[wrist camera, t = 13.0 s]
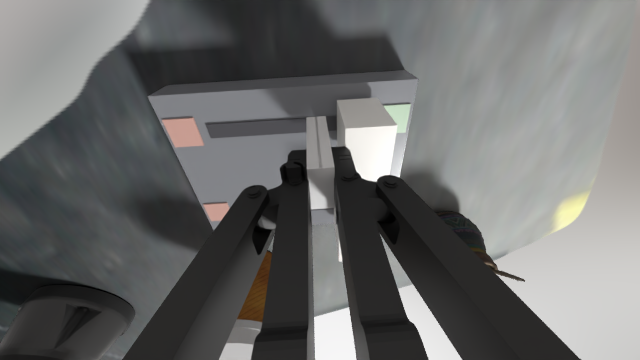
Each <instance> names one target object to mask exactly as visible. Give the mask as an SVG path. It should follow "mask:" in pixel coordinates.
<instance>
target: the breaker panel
mask: <svg viewBox="0 0 640 360" xmlns="http://www.w3.org/2000/svg"><path fill="white" fill-rule="evenodd" d="M418 80H419V79H418V78H416V77H415V76H413V75H412V74H410V73H409V72H407V71H406V70H397V71H381V72H366V73H350V74H334V75H318V76H303V77H287V78H271V79H256V80H240V81H224V82H208V83H193V84H177V85H167V86H165V87H163V88H161V89H160V90H158V91H156V92H154V93H153V94H151V95H149V96H148V98H149V100H150V102H151V104H152V106H153V109H154V111H155V113H156V115H157V117H158V119H159V121H160V123H161V125H162V127H163V129H164V131H165V133H166V135H167V137H168V139H169V141H170V143H171V145H172V147H173V149H174V151H175V153H176V155H177V157H178V159H179V161H180V163H181V165H182V167H183V169H184V171H185V173H186V175H187V177H188V179H189V181H190V184H191V186H192V188H193V190H194V192H195V194H196V196H197V198H198V200H199V202H200V204H201V206H202V208H203V210H204V212H205V214H206V216H207V218H208V220H209V222H210V224H211V226H212V228H213V230H215V229H216V227H217V226H218V224H219V223H220V222H221V220H222V219H223V217H224V216H225V215H226V213H227V212H228V210H229V209H230V207H231V206H232V205H233V203H234V202H235V200H236V199H237V198H238V196H239V195H240V193H241V192H242V191H243V190H244V189H245V188H247V187H249V186H253V185H262V186H265V187H266V188H267V190H269V189H273V188H275V187H278V186H280V185H281V184H282V179H281V174H280V167H281V165H283V164H284V163H286V162H287V161H288V160H287V159H288V154H289V153H290V152H291V151H292V150H305V149H307V124H306V117H318V116H326V122H327V127H328V133H329V139H330V144H331V147H337V100H347V99H363V98H378V100H379V101H380V102H381V104H382V105H383V106H384V108H385V109H386V110H387V112H388V113H389V114H390V116H391V117H392V118H393V120H394V121H395V122H396V124H397V125H398V126H397V133H396V139H395V145H394V151H393V157H392V163H391V169H390V175H393V176H397V177H400V172H401V167H402V162H403V157H404V152H405V147H406V142H407V136H408V131H409V126H410V121H411V116H412V111H413V106H414V101H415V96H416V91H417V86H418ZM376 182H377V181H376ZM311 215H312V225H319V224H334V208H325V209H311Z"/></svg>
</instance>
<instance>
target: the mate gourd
mask: <svg viewBox="0 0 640 360" xmlns="http://www.w3.org/2000/svg"><path fill="white" fill-rule="evenodd" d="M436 214H437V215H438V216H439V217H440V218H441V219H442V220H443V221H444V222H445V223H446V224H447V225H448V226H449V227H450V228H451V229H452V230H453V231H454V232H455V233H456V234H457V235H458V236H459V237H460V238H461V239H462V240H463V242H464V243H465V244H466V245H467V246H468V247H469V248H470V249H471V250H472V251H473V252H474V253H475V254H476V255H477V256H478V257H479V258H480V259H481V260H482V261H483V262H484V263H485V264H486V265H487V266H488V267H489V268H490V269H491V270H492V271H493V272H494V273H495V274H498V275H501V276H505V277H509V278H512V279H515V280H519V281H524V282H525V280H524V279H521V278H519V277H516V276H514V275H511V274H508V273H506V272H503V271H499V270H498V268H497V265H496V264H495V263H494V262H493V260H492V259H491V257H490V256H489V255H487V253H486V248H485V244H484V239H483V237H482V235H481V232H480V231H479V229H478V228H477V226H476V225H475V224H473V223H472V222H471V221H470V220H469V219H467V218H465V217H464V216H463V215H462V214H459V213H455V212H439V213H436Z"/></svg>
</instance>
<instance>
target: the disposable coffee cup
mask: <svg viewBox="0 0 640 360" xmlns="http://www.w3.org/2000/svg"><path fill="white" fill-rule="evenodd" d="M271 257H272V253H271V252H268V251H267V252H266V254H265V257H264V259H263V261H262V263H261V266H260V268H259V270H258V272H257V275H256V277H255V279H254V281H253V284H252V286H251V288H250V290H249V293H248V295H247V297H246V300H245V302H244V304H243V306H242V309H241V311H240V313H239V315H238V318H237V320H236V322H235V324H234V327H233V329H232V331H231V333H230V336H229V338H228V340H227V342H226V345H225V347H224V349H223V351H222V354H221V356H220V358H219V360H251V356H252V350H253V345H254V341H255V338H256V336H257V335H258V334H259V333H260V330H261V327H262V321H263V314H264V306H265V299H266V292H267V285H268V278H269V271H270V264H271Z"/></svg>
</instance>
